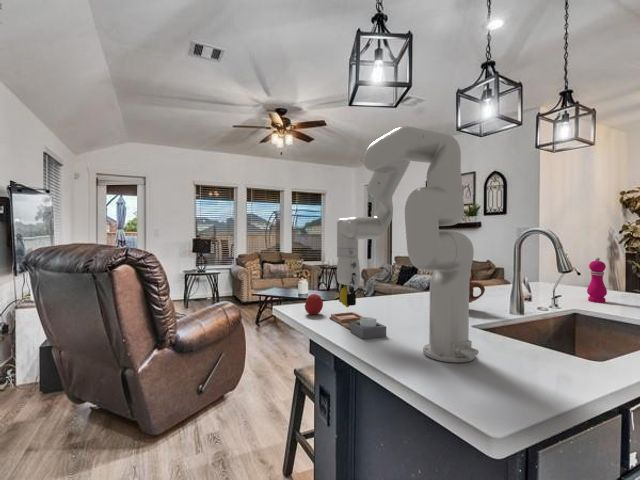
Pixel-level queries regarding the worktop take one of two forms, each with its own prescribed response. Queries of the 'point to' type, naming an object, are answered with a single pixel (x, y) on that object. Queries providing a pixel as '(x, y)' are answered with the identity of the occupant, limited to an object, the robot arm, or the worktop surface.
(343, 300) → the lemon
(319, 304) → the tomato
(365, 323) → the dome
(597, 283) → the pepper mill
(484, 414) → the worktop surface
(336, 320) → the board
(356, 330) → the housing
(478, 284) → the brown mug
